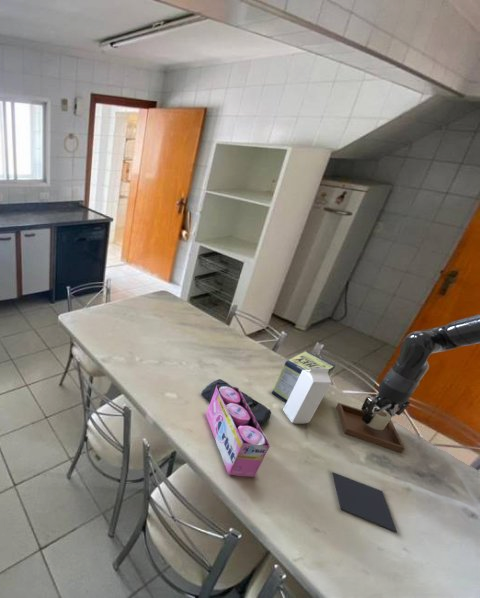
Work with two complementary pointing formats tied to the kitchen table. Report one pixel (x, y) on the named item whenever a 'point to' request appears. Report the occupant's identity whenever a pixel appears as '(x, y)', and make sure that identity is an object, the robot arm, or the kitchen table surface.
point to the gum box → (236, 432)
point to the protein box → (297, 372)
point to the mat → (363, 501)
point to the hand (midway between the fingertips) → (374, 421)
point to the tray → (368, 429)
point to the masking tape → (380, 420)
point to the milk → (307, 395)
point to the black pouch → (259, 411)
